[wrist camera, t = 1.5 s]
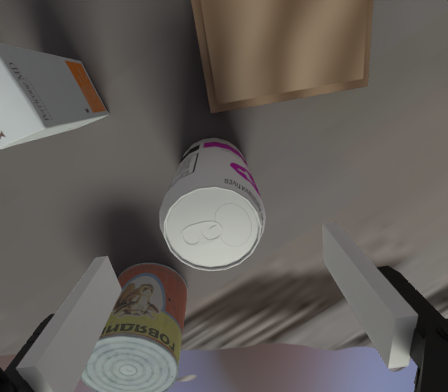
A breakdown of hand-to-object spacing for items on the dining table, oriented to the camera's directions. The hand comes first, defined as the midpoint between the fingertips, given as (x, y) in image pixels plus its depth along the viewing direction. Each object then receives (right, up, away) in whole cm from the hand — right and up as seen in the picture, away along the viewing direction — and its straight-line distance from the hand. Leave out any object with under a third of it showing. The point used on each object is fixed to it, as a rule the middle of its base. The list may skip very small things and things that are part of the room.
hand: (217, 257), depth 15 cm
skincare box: (-16, +15, +13) cm, 25 cm away
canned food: (-11, -11, +24) cm, 29 cm away
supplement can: (-1, +7, +17) cm, 18 cm away
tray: (+6, +22, +10) cm, 25 cm away
